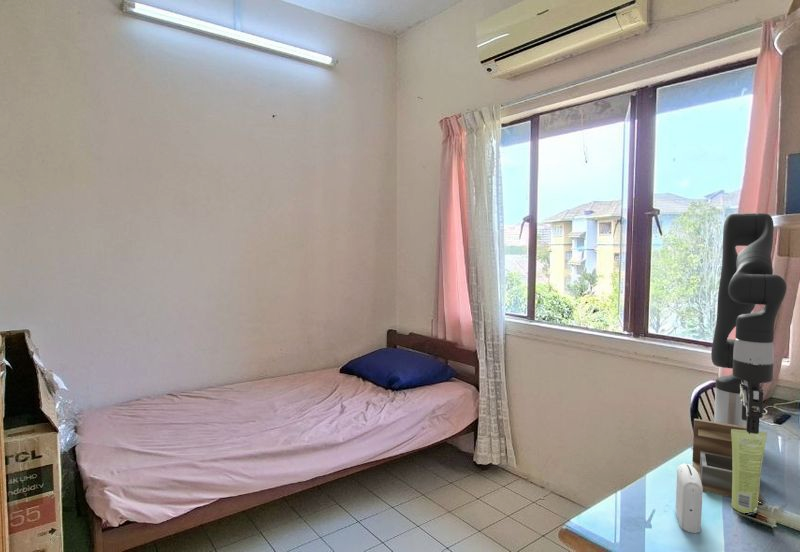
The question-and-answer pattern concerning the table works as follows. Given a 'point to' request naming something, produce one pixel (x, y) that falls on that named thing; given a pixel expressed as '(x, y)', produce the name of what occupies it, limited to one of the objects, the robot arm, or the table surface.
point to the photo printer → (689, 498)
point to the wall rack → (714, 456)
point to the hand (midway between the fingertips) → (749, 426)
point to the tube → (746, 468)
